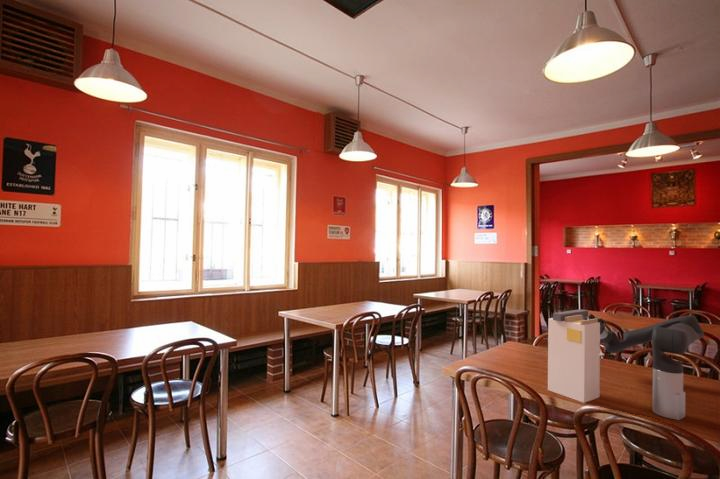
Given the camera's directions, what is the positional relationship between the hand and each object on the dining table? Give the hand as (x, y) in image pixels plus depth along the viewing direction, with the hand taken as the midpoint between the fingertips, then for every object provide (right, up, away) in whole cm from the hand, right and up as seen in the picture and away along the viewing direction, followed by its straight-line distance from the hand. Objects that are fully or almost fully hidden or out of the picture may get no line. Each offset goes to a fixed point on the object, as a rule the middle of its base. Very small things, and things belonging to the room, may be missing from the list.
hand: (580, 314), depth 177 cm
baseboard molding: (+26, -35, +46) cm, 64 cm away
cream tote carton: (-9, -33, -10) cm, 36 cm away
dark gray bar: (-7, -1, -5) cm, 9 cm away
